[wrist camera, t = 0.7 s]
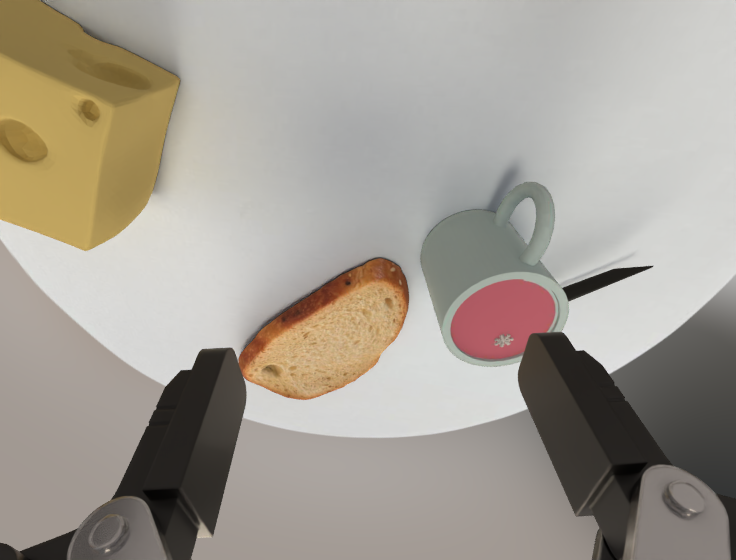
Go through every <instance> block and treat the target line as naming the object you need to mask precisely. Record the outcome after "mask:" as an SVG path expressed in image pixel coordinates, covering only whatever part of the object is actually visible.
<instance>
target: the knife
mask: <svg viewBox="0 0 736 560" xmlns="http://www.w3.org/2000/svg"><path fill="white" fill-rule="evenodd" d="M652 267H653V266H644V267H631V268H618V269H612V270H609V271H607V272H604V273H601V274H599V275H596V276H593V277H590V278H588V279H585V280H582V281H580V282H577V283H574V284H571V285H569V286H566V287H563V288H562V289H563V290H564V292H565V294H566V296H567V299H568V302H569V301H571V300H573V299H576V298H578V297H581V296H583V295H586V294H588V293H591V292H593V291H596V290H598V289H600V288H603V287H605V286H608V285H610V284H613V283H615V282H618V281H620V280H622V279H625V278H627V277H630V276H632V275H635V274H637V273H640V272H642V271H645V270H647V269H649V268H652Z"/></svg>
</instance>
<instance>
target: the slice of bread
mask: <svg viewBox="0 0 736 560" xmlns="http://www.w3.org/2000/svg"><path fill="white" fill-rule="evenodd" d="M408 305H409V292H408V286H407V282H406V278H405V276H404V274H403V273H402V271H401V268H400V267H399V266H397V265H396V264H394V263H393V262H391V261H388V260H386V259H382V258H378V259H374V260H371V261H368V262H367V263H366V264H364V265H363V266H360V267H357V268H355V269H353V270H351V271H349V272H347V273H344V274H341V275H340V276H339V277H338V278H336V279H335V280H333V281H331V282H329V283H327V284H325V286H323V287H322V288H321V289H320V290H318V291H316V292H314V293H313V294H311V295H310V296H309V297H307V298H306V299H304V300H302V301H301V302H299V303H297V304H296V305H294V306H293V307H291V308H290V309H288V310H287V311H285V312H284V313H282V314H281V315H280V316H278V317H277V318H276V319H274V320H273V321H272V322H271V323H269V324H268V325H266V326H265V327H264V328H263V329H262V330H261V331H259V332H258V334H257V335H256V337H255V339H254V340H253V341H252V342H251V343H250V344H248V346H247V347H246V348H245V349H244V350H243V352H242V353H241V355H240V357H239V366H240V369H241V372H242V375H243V377H244V378H245V379H246V380H248V381H250V382H252V383H255V384H257V385H260V386H262V387H264V388H266V389H268V390H270V391H273V392H275V393H277V394H280V395H282V396H284V397H288V398H293V399H301V400H307V399H312V398H316V397H319V396H321V395H324V394H326V393H328V392H331V391H334V390H337V389H339V388H342V387H344V386H345V385H347V384H349V383H350V382H353V381H355V380H356V379H357V378H359V377H360V376H361V375H363V374H365V373H366V372H367V371H368V370H370V369H371V368H372V367H373V366H374V365H375V364H376V363H377V362H378V360H379V357H380V355H381V353H382V352H383V351H384V350H385V349H386V348H387V347H388V346H389V345H390V344H391V343H392V342H393V341H394V340H395V339H396V337H397V336H398V334H399V332H400V330H401V328H402V326H403V323H404V320H405V317H406V314H407V311H408Z"/></svg>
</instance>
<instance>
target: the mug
mask: <svg viewBox="0 0 736 560" xmlns="http://www.w3.org/2000/svg"><path fill="white" fill-rule="evenodd" d="M528 197H530V198H532V199H533V201H534V203H535V207H536V223H535V229H534V232H533V235H532V238H531V240H530V242H529V245H527V244H526V243H525V241H524V240H523V239H522V238H521V236H520V235H519V234H518V232H517V231H516V230H515V229H514V227H513V226H512V225H511V224H510V222H509V219H510V216H511V214H512V212H513V211H514V209H515V208H516V206H517V205H518V204H519V203H520V202H521V201H522V200H524V199H525V198H528ZM554 221H555V210H554V203H553V200H552V197H551V194H550V193H549V192H548V190H547V189H546V188H545V187H544V186H542V185H540V184H538V183H536V182H525V183H523V184H520V185H518V186H516V187H515V188H514V189H513V190H511V191H510V192H509V193H508V194H507V196H506V197H505V198H504V199H503V201H502V202H501V204H500V206H499V208H498V210H497V212H496V213H494V212H491V211H487V210H468V211H463V212H459V213H457V214H454V215H452V216H450V217H448V218H446V219H445V220H443V221H442V222H440V223H439V224H438V225H437V226H436V227H435V228H434V229H433V230H432V231H431V232H430V233H429V235H428V236H427V238H426V239H425V242H424V244H423V246H422V250H421V266H422V270H423V273H424V277H425V280H426V283H427V286H428V290H429V293H430V296H431V300H432V303H433V306H434V310H435V313H436V316H437V320H438V323H439V326H440V329H441V333H442V336H443V339H444V342H445V344H446V346H447V348H448V349H449V351H450V352H451V353H452V354H453V355H454V356H456V357H457V358H459V359H460V360H462V361H464V362H467V363H469V364H473V365H477V366H484V367H497V366H505V365H510V364H514V363H518V362H521V360H522V357H523V354H524V351H525V348H526V344H527V341H528V338H529V336H530V335H531V334H532V333H546V332H561V331H562V330H563V328H564V326H565V324H566V321H567V318H568V313H569V303H568V299H567V296H566V294H565V292H564V290H563V289H562V288H561V287H560V285H559V284H558V283H557V282H556V280H555V279H554V278H553V277H552V275H551V274H550V273H549V271H548V270H547V269H546V268H545V266H544V265H543V264H542V263H541V261H540V258H541V257H542V256H543V254H544V253H545V251H546V249H547V247H548V245H549V243H550V239H551V236H552V233H553V229H554Z"/></svg>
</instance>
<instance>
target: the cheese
mask: <svg viewBox="0 0 736 560" xmlns="http://www.w3.org/2000/svg"><path fill="white" fill-rule="evenodd" d="M179 84H180V79H179V78H178V77H177V76H175V75H173V74H172V73H170V72H168V71H166V70H164V69H162V68H160V67H158V66H156V65H154V64H153V63H151V62H149V61H147V60H145V59H143V58H141V57H139V56H137V55H135V54H133V53H131V52H129V51H127V50H125V49H123V48H120V47H118V46H114V45H111V44H108V43H105V42H102V41H99V40H97V39H95V38H93V37H91V36H89V35H88V34H86V33H84V32H83V28H82V27H81V26H80V25H79V24H78V23H76V22H74V21H73V20H71V19H69V18H68V17H66V16H64V15H62V14H61V13H59V12H57V11H56V10H54V9H52V8H51V7H49V6H47V5H46V4H44V3H43V2H41V1H40V0H0V220H3V221H6V222H9V223H12V224H15V225H18V226H21V227H23V228H26V229H29V230H32V231H35V232H38V233H40V234H43V235H46V236H48V237H51V238H54V239H56V240H59V241H62V242H64V243H67V244H69V245H72V246H74V247H77V248H79V249H81V250H84V251H88V250H90V249H92V248H94V247H96V246H98V245H100V244H102V243H104V242H105V241H107V240H109V239H111V238H113V237H114V236H116V235H117V234H119V233H120V232H121V231H122V230H124V229H125V228H126V227H127V226H128V225H129V224H130V223H131V222H132V221H133V220H134V219H135V218H136V217H137V216H138V215H139V214H140V213H141V211H142V210H143V209H144V207H145V206H146V204H147V202H148V200H149V198H150V196H151V194H152V191H153V188H154V184H155V181H156V177H157V174H158V169H159V165H160V160H161V155H162V150H163V144H164V139H165V135H166V130H167V127H168V123H169V119H170V115H171V112H172V108H173V105H174V101H175V98H176V94H177V91H178V87H179Z"/></svg>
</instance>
